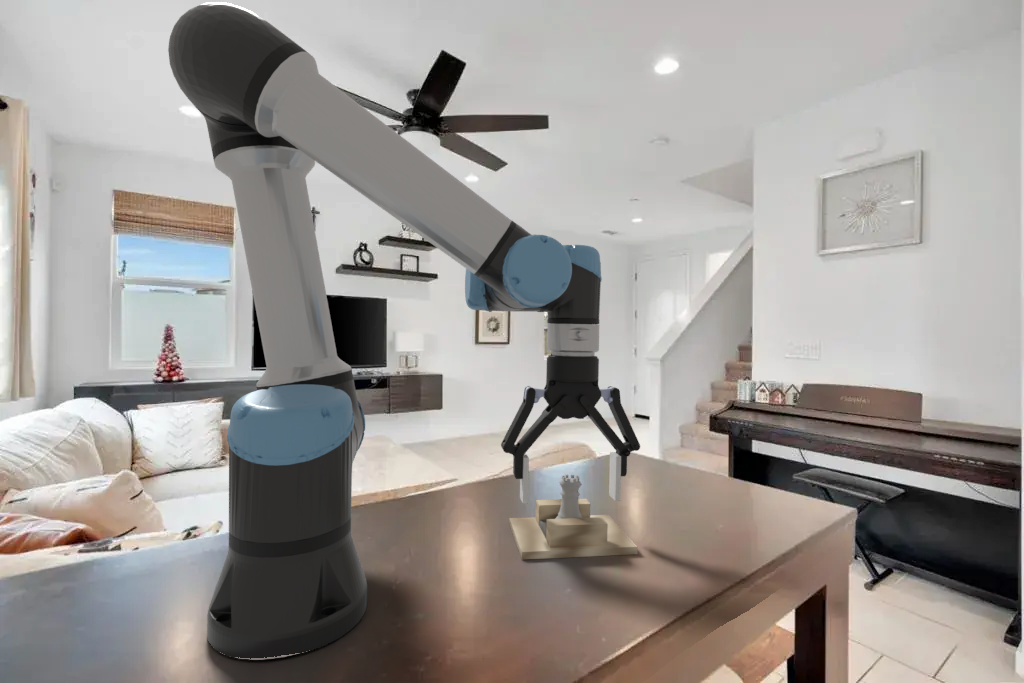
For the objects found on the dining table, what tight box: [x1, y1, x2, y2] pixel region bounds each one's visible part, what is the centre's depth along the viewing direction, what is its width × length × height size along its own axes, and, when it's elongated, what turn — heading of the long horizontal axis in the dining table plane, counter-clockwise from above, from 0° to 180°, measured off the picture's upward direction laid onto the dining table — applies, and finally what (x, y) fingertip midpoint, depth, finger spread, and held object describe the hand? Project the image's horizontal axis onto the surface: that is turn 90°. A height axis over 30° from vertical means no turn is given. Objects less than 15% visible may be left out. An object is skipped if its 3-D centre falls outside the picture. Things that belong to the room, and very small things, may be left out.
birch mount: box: [508, 498, 638, 561], centre depth 73 cm, size 16×12×4 cm
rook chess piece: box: [555, 474, 583, 519], centre depth 72 cm, size 4×4×8 cm
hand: (569, 499), depth 72 cm, fingers open, 13 cm apart
